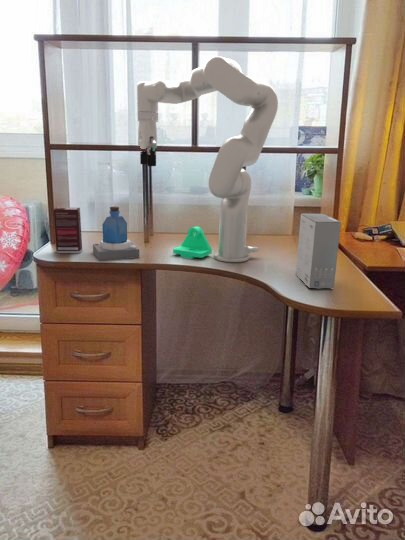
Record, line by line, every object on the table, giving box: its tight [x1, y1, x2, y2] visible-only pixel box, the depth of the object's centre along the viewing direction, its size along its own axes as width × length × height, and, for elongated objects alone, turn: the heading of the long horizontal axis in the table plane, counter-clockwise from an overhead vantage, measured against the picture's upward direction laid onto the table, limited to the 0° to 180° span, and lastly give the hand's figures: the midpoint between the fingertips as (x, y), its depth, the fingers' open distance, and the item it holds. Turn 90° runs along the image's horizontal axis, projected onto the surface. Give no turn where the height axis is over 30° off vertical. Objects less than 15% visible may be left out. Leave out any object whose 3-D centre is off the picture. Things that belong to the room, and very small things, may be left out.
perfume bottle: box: [102, 206, 128, 244], centre depth 168 cm, size 6×6×12 cm
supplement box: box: [52, 206, 83, 254], centre depth 172 cm, size 9×5×16 cm, turn 94°
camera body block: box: [92, 238, 140, 261], centre depth 171 cm, size 14×12×5 cm
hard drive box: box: [295, 213, 342, 289], centre depth 143 cm, size 16×8×20 cm, turn 4°
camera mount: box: [172, 226, 213, 260], centre depth 172 cm, size 12×8×10 cm, turn 61°
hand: (148, 165), depth 181 cm, fingers open, 9 cm apart
